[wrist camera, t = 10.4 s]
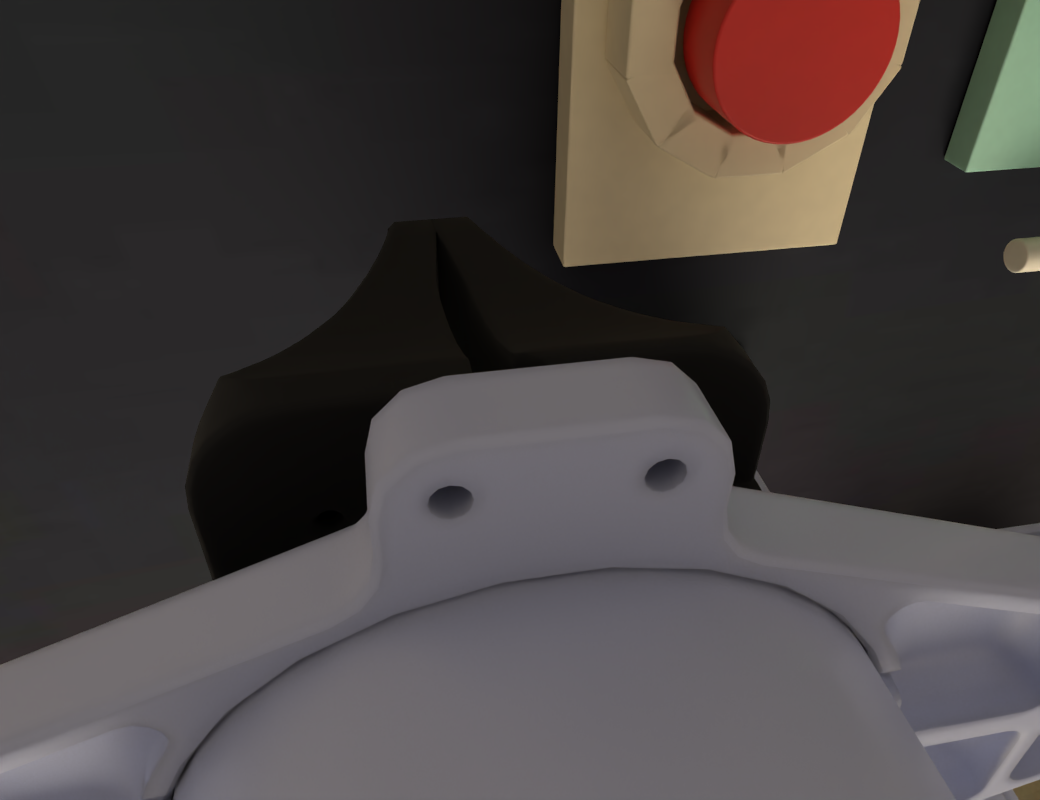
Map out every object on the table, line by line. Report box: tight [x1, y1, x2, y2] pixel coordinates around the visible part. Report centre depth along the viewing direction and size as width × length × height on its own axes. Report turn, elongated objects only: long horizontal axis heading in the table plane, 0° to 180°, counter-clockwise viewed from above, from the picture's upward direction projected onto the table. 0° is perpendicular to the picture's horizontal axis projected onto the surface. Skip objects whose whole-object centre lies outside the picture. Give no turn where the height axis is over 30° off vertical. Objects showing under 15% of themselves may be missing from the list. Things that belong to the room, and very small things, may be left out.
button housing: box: [553, 0, 920, 267], centre depth 21 cm, size 12×9×4 cm
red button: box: [683, 0, 900, 144], centre depth 19 cm, size 4×4×2 cm
